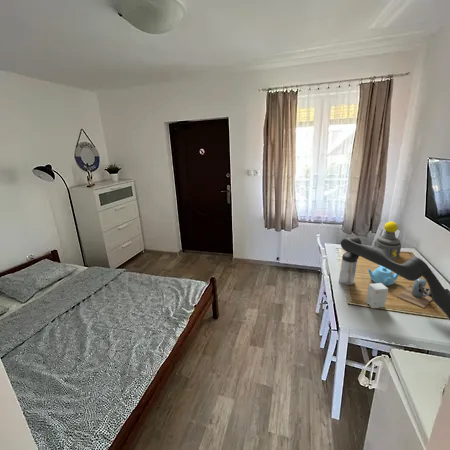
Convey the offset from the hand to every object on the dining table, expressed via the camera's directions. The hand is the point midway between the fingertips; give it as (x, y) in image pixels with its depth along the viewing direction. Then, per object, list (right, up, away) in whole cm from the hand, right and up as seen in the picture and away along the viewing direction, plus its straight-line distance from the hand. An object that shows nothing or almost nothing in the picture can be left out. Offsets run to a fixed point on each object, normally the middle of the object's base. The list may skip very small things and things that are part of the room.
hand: (427, 285), depth 144 cm
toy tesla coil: (+17, +9, +64) cm, 67 cm away
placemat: (+2, -10, +11) cm, 15 cm away
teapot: (-9, -5, +29) cm, 30 cm away
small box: (-28, -13, +6) cm, 31 cm away
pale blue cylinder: (+2, -9, +11) cm, 14 cm away
